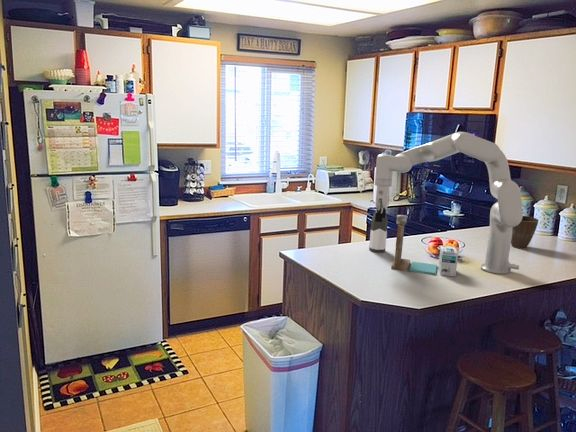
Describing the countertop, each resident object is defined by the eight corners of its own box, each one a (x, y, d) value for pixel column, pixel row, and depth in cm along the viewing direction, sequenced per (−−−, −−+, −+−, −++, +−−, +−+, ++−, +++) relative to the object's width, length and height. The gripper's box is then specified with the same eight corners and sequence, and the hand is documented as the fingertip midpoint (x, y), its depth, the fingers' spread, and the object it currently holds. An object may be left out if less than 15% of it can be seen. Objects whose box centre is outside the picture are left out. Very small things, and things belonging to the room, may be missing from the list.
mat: (436, 266, 227) (436, 264, 227) (435, 274, 215) (435, 273, 215) (412, 263, 230) (412, 261, 230) (409, 271, 218) (409, 269, 218)
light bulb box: (455, 276, 214) (458, 252, 212) (439, 275, 215) (442, 251, 213) (453, 269, 224) (455, 246, 222) (437, 267, 225) (440, 244, 223)
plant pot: (539, 251, 261) (544, 221, 258) (511, 250, 261) (515, 220, 258) (526, 244, 276) (530, 215, 272) (499, 242, 276) (503, 214, 272)
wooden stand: (409, 262, 231) (414, 214, 226) (407, 270, 219) (412, 219, 214) (394, 260, 233) (398, 212, 228) (390, 268, 221) (395, 218, 216)
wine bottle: (384, 248, 253) (389, 190, 246) (385, 253, 245) (391, 193, 239) (368, 247, 253) (373, 189, 247) (369, 252, 246) (374, 192, 239)
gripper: (389, 185, 212) (385, 224, 216) (394, 180, 228) (391, 217, 232) (371, 183, 214) (368, 222, 218) (377, 179, 230) (375, 215, 234)
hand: (380, 219), depth 225 cm, fingers open, 9 cm apart
